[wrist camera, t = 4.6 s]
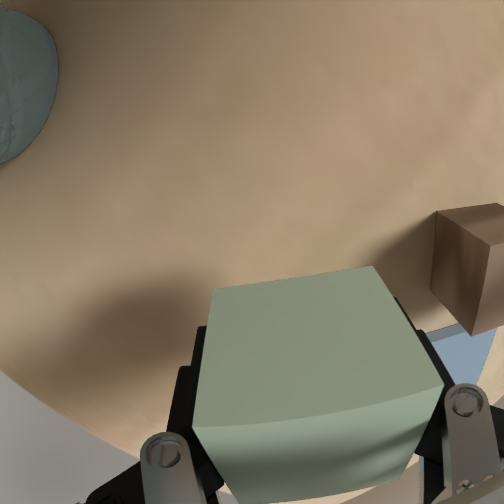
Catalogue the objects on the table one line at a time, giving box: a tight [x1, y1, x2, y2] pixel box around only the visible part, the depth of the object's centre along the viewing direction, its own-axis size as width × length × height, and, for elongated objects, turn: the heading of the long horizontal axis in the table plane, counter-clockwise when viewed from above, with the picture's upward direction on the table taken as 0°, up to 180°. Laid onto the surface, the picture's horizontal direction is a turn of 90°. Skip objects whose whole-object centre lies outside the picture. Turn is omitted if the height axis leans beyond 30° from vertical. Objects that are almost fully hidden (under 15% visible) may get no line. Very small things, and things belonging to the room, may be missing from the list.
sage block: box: [192, 266, 444, 504], centre depth 9 cm, size 5×5×5 cm
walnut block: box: [430, 203, 504, 337], centre depth 14 cm, size 5×5×5 cm
